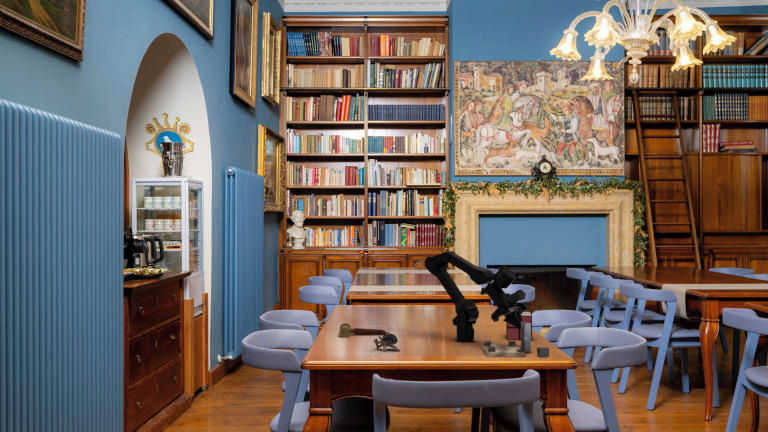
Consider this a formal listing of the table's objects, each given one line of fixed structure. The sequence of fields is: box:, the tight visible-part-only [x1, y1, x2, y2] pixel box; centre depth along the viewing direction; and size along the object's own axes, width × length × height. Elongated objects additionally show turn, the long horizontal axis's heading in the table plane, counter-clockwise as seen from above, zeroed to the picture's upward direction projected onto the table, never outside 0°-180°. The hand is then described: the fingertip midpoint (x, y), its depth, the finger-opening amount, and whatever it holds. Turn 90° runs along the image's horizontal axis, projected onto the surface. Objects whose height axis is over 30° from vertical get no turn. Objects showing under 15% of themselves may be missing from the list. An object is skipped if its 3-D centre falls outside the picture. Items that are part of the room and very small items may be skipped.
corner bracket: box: [536, 346, 550, 358], centre depth 193 cm, size 2×4×3 cm, turn 104°
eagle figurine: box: [372, 333, 401, 353], centre depth 202 cm, size 8×7×9 cm
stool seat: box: [480, 321, 527, 358], centre depth 199 cm, size 14×13×12 cm
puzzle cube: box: [505, 311, 533, 342], centre depth 225 cm, size 10×10×10 cm
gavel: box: [338, 322, 390, 339], centre depth 231 cm, size 21×5×10 cm
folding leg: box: [524, 323, 532, 353], centre depth 198 cm, size 7×2×10 cm, turn 151°
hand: (524, 329), depth 201 cm, fingers closed, pressing on folding leg
